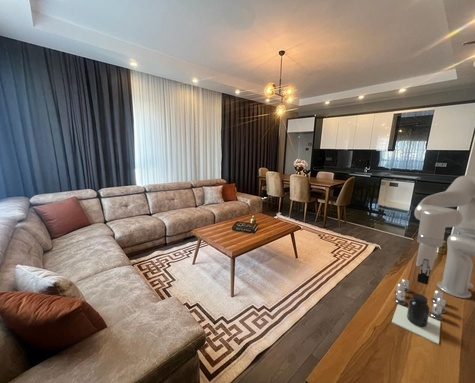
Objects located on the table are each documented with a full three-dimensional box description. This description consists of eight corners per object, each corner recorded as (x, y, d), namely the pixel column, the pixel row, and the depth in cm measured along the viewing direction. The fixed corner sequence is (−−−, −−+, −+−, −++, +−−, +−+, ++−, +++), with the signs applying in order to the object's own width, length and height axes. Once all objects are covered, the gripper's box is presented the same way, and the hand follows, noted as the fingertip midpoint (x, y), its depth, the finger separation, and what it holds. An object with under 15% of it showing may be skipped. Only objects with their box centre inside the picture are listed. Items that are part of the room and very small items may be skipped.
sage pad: (397, 305, 100) (397, 304, 100) (440, 322, 90) (440, 321, 89) (391, 322, 90) (391, 321, 90) (438, 344, 79) (438, 343, 79)
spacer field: (397, 285, 115) (398, 275, 114) (446, 303, 101) (448, 292, 100) (391, 300, 103) (392, 290, 102) (445, 323, 89) (447, 311, 88)
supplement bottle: (421, 317, 92) (425, 293, 90) (430, 329, 86) (435, 304, 83) (403, 313, 94) (407, 290, 92) (410, 325, 88) (414, 300, 86)
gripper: (419, 231, 91) (414, 266, 94) (415, 243, 79) (409, 283, 83) (443, 236, 86) (436, 272, 89) (442, 250, 74) (434, 291, 77)
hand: (423, 277), depth 86 cm, fingers open, 9 cm apart
